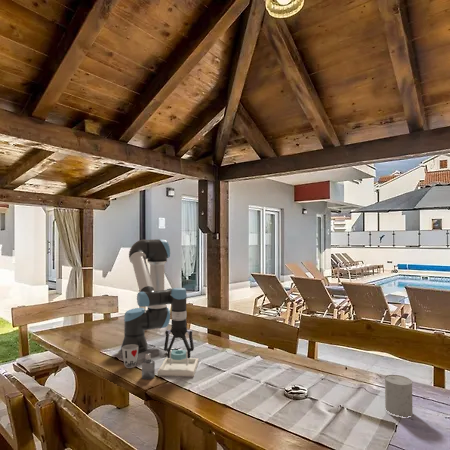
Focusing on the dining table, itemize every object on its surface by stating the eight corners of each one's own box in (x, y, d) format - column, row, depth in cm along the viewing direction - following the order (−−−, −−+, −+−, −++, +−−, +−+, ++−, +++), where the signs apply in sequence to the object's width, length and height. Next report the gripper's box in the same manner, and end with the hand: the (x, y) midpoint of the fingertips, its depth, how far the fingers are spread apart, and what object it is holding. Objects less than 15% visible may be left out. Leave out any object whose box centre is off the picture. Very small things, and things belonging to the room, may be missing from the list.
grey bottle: (143, 374, 172) (143, 351, 172) (156, 374, 172) (156, 351, 172) (140, 379, 166) (140, 355, 166) (152, 379, 166) (152, 356, 166)
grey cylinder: (404, 405, 140) (403, 374, 141) (418, 418, 131) (417, 384, 131) (380, 406, 140) (380, 374, 140) (392, 418, 130) (392, 385, 131)
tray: (165, 362, 187) (165, 357, 188) (198, 363, 187) (198, 358, 187) (157, 376, 170) (157, 370, 170) (193, 376, 169) (193, 371, 169)
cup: (122, 369, 178) (122, 350, 178) (122, 364, 186) (122, 345, 186) (138, 368, 180) (138, 348, 180) (138, 362, 188) (138, 343, 188)
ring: (189, 357, 178) (189, 352, 178) (177, 361, 173) (177, 356, 173) (179, 352, 185) (179, 348, 185) (166, 356, 180) (166, 351, 180)
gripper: (157, 320, 176) (157, 366, 175) (198, 321, 175) (198, 367, 174) (160, 316, 183) (160, 361, 183) (200, 317, 182) (200, 362, 182)
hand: (179, 364), depth 178 cm, fingers closed on ring, 8 cm apart
